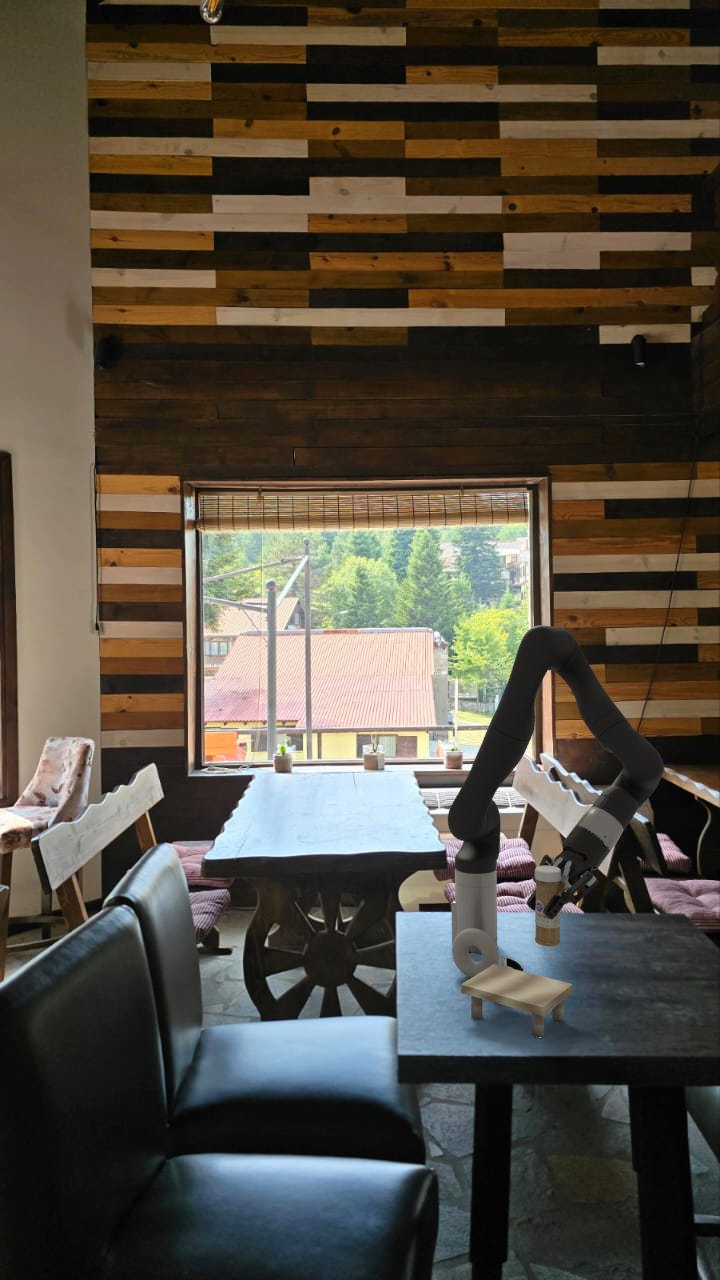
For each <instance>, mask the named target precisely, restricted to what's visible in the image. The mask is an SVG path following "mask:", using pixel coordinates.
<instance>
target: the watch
mask: <svg viewBox="0 0 720 1280" xmlns="http://www.w3.org/2000/svg"><path fill="white" fill-rule="evenodd" d="M499 966H503V967H508V968H511V969H515V970H519V971H523V972H524V968H523V967H522V965H521V964H520V963H518V961H515V960H514V959H512V958H508V957H503V958H502V959H501V961H500V964H499Z"/></svg>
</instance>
